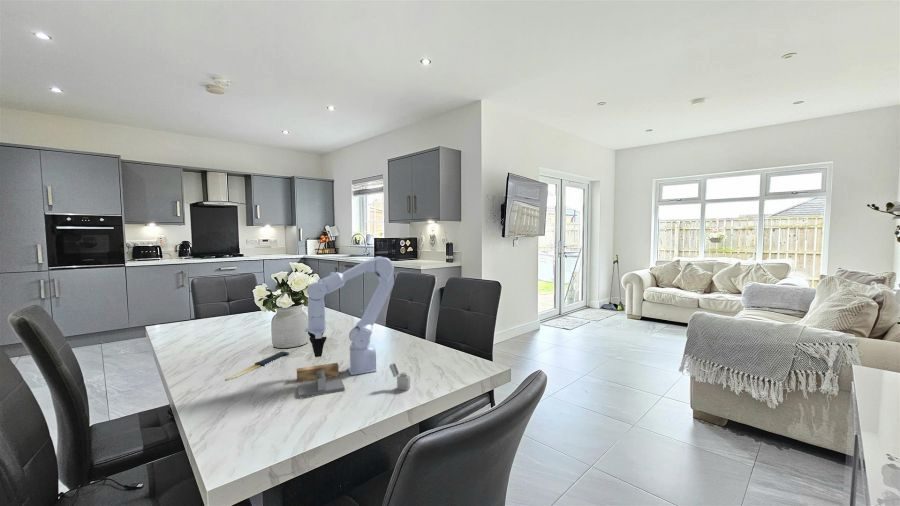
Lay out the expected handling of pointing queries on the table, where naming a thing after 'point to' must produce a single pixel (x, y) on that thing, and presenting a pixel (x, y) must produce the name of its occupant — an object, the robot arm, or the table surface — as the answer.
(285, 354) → the knife
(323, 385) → the stand
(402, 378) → the lighter
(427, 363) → the table surface
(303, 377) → the bar
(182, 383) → the table surface
